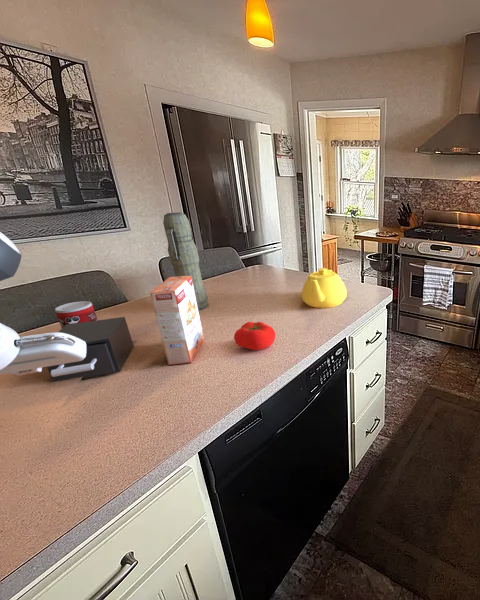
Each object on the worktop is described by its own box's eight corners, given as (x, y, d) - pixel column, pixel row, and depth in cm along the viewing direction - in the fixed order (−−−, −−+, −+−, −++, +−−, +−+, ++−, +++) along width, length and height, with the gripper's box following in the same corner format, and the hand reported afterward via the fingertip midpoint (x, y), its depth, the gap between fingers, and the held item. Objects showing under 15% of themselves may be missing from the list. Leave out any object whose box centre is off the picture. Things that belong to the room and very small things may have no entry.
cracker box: (193, 363, 88) (175, 290, 80) (167, 366, 86) (147, 292, 79) (206, 339, 100) (191, 274, 93) (184, 342, 99) (167, 276, 91)
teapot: (338, 315, 119) (336, 280, 114) (291, 313, 120) (287, 278, 115) (352, 292, 142) (350, 262, 137) (312, 291, 143) (309, 261, 138)
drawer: (109, 381, 78) (98, 353, 75) (45, 394, 73) (31, 364, 71) (128, 348, 93) (120, 323, 90) (76, 356, 88) (66, 331, 85)
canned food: (62, 342, 97) (48, 308, 94) (93, 331, 104) (82, 299, 100) (76, 347, 95) (63, 312, 91) (108, 335, 102) (97, 303, 98)
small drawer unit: (120, 371, 84) (108, 338, 80) (54, 384, 78) (39, 349, 75) (134, 346, 96) (124, 316, 92) (78, 355, 91) (66, 324, 87)
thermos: (213, 300, 131) (195, 211, 118) (202, 312, 120) (180, 215, 107) (189, 302, 129) (168, 211, 117) (176, 313, 118) (151, 215, 106)
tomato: (259, 356, 91) (256, 336, 89) (229, 349, 95) (226, 329, 93) (282, 341, 100) (280, 322, 98) (254, 335, 103) (251, 316, 101)
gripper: (65, 317, 55) (102, 343, 67) (-124, 341, 47) (-44, 365, 58) (63, 352, 53) (101, 372, 65) (-135, 384, 44) (-50, 400, 56)
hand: (31, 369), depth 61 cm, fingers closed
